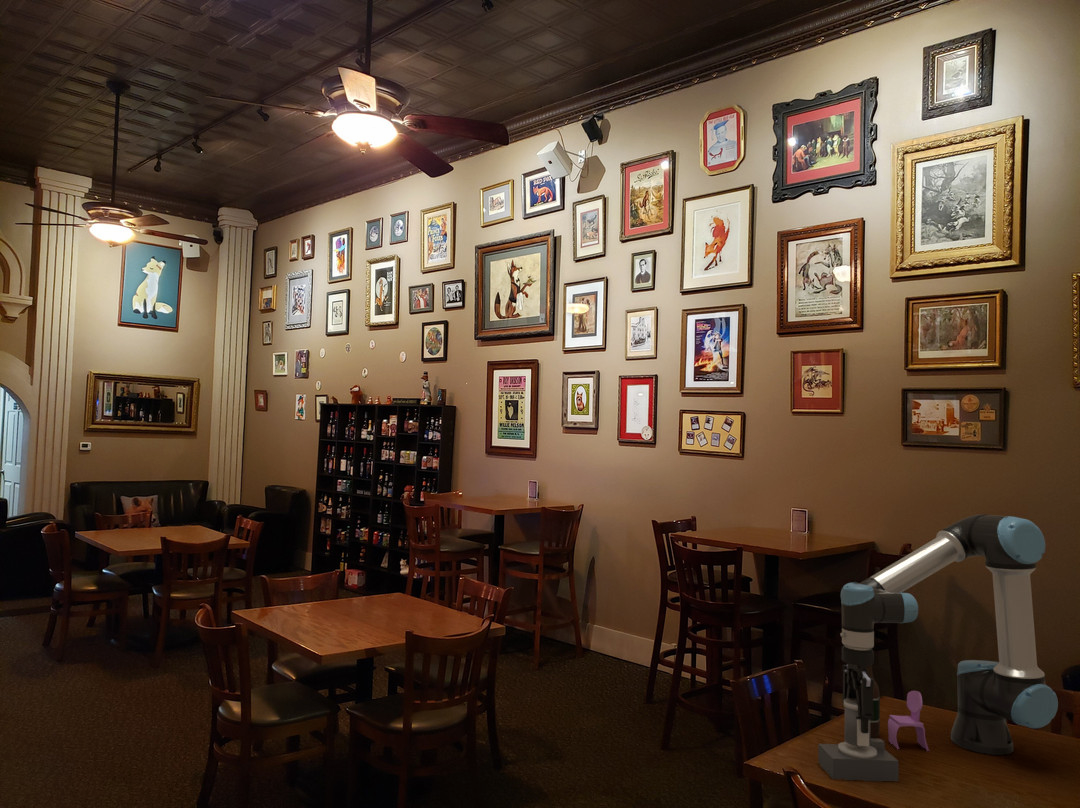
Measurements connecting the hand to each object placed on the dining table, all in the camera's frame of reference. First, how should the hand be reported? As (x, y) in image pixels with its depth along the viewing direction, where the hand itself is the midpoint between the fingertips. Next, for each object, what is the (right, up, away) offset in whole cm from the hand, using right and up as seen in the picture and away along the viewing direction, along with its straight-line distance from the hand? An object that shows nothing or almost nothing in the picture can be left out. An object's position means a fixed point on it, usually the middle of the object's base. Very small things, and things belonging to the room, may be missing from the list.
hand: (857, 740), depth 193 cm
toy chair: (+22, -10, +19) cm, 31 cm away
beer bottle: (+14, -11, +28) cm, 33 cm away
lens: (0, 0, 0) cm, 0 cm away
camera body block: (0, -8, -1) cm, 8 cm away
